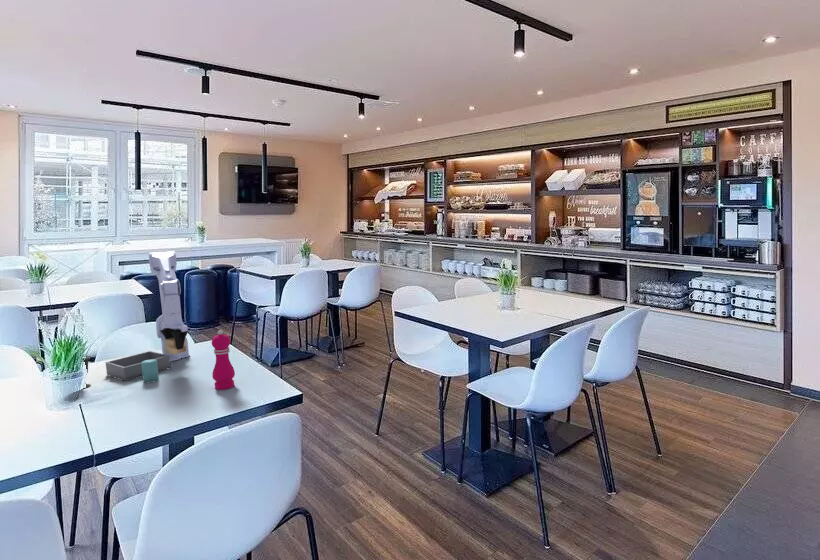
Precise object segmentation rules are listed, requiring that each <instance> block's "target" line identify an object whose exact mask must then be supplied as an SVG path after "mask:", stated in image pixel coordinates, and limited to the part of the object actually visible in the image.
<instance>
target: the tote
mask: <svg viewBox="0 0 820 560" xmlns="http://www.w3.org/2000/svg"><path fill="white" fill-rule="evenodd" d="M152 359H155V360H157V366H158V372H161V371H160V370H162V371H165V370H168V369H167V368H169V369H171V362H170V360H169V355H165V354H162V353H160V352H157V351H153V350H149V351H144V352H141V353H138V354H132V355H129V356H124V357H121V358H116V359H113V360H109V361H106V362H105V368H106V375H107V376H108V375H110V376H109V377H111V376H112V378H114V377H116V378H115V379H117V378H119V379H118V380H120V379H122V380H121V381H123V380H124V382H127V381H130V379H131V380H133V378H134V379H137V378H136V377H138V378H141V377H143V373H142V363H141V362H143V361H145V360H152ZM164 369H165V370H164ZM140 376H141V377H140ZM126 380H127V381H126Z"/></svg>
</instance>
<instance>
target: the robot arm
mask: <svg viewBox="0 0 820 560" xmlns="http://www.w3.org/2000/svg"><path fill="white" fill-rule="evenodd" d="M148 262H149V268H150V272H151V274H152V275H156V278H157V280H158V286H159V294H160V297H159V298H160V304H161V313H162V314H161V315H159V316H158V318H156V320H155V329H156V336H157V338H158V339H160V343H161V352H162V353H161V354H165V355H169V360H170V363H172V362H174V361H177V360H182V359H185V357H186V358H188V357H189V358H190V357H191V354H189V353H190V351H189V342H188V338H187V335H188V333H189V329H188V328H189V327H188V325H186V324H184V322H183V318H182V308H181V297H180V295H181V294H182V293H181V292H182V290H181V283H180V280H179V279H178V278H177V275H176V273H175V272H176V270H177V266H178V265H177V263H178V262H177V254H176V251H174V250H172V251H164V252H163V251H160V252H159V251H158V252H149V253H148ZM169 338H174V339H175V343H176V348H177V350H179V349H183V347H184V341H185V343H186V351H185V352H181V353H177V354H170V353H166V346H165V339H169ZM181 358H182V359H181Z"/></svg>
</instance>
